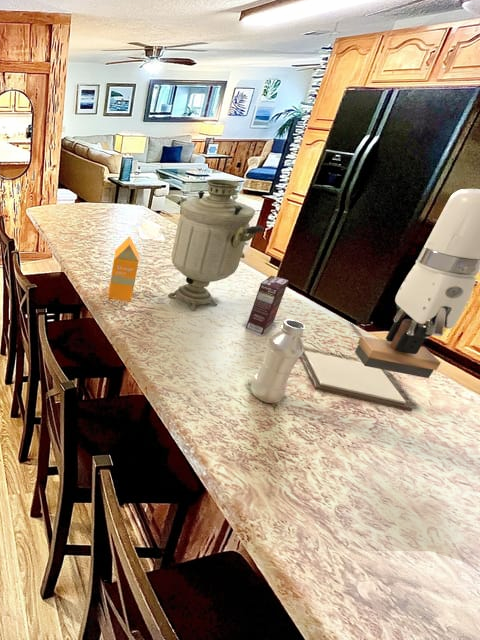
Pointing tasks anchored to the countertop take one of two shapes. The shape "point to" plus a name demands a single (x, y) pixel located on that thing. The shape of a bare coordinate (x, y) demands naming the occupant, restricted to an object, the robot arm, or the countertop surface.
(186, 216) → the samovar
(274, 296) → the supplement box
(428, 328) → the robot arm
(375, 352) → the scrub brush
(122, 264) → the orange juice
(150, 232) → the napkin holder
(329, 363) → the tile board
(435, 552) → the countertop surface
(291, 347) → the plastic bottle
